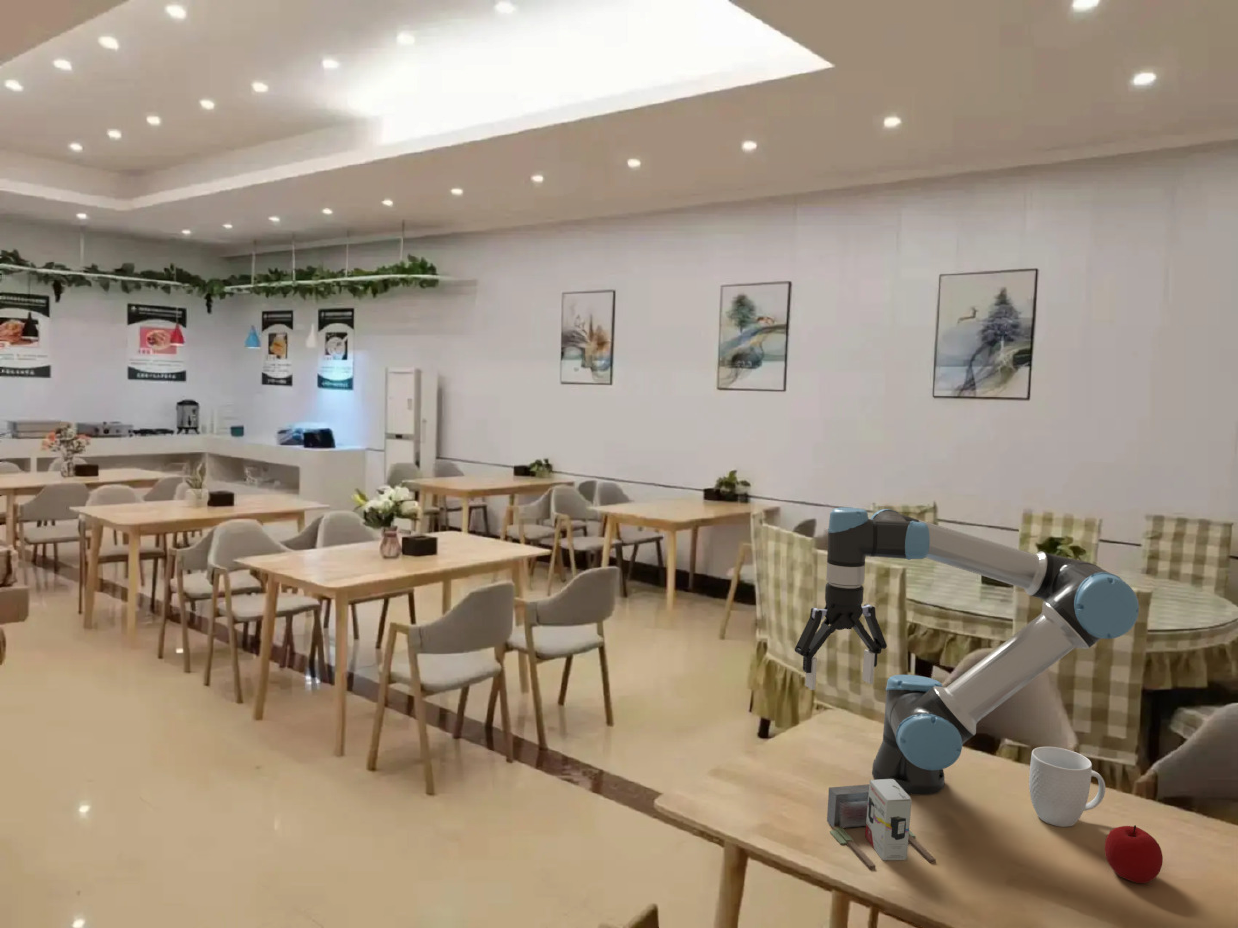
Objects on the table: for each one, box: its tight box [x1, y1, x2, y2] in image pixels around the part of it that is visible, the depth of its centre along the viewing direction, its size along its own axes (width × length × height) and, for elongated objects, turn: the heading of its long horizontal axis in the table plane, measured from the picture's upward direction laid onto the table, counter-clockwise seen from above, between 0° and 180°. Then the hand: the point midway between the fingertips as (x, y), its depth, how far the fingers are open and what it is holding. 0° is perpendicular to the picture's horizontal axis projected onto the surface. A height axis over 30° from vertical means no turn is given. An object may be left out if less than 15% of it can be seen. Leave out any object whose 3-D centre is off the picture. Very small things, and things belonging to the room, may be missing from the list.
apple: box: [1104, 825, 1164, 884], centre depth 157 cm, size 9×9×10 cm
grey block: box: [826, 783, 869, 829], centre depth 172 cm, size 13×4×7 cm, turn 103°
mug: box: [1028, 746, 1106, 828], centre depth 177 cm, size 15×11×13 cm
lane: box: [829, 826, 937, 870], centre depth 165 cm, size 16×14×1 cm
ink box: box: [864, 779, 913, 861], centre depth 163 cm, size 9×5×12 cm, turn 7°
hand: (839, 684), depth 180 cm, fingers open, 13 cm apart
